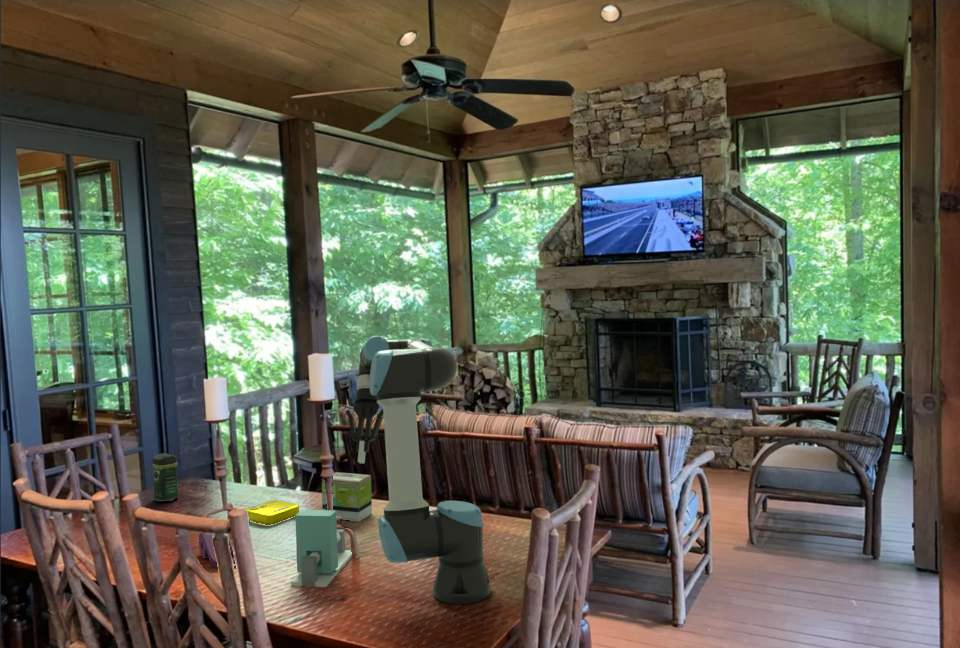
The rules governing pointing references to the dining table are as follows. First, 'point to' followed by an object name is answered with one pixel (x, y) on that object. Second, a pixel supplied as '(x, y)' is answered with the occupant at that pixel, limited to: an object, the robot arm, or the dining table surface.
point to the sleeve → (317, 538)
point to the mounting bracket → (209, 548)
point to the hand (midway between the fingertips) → (361, 462)
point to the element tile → (272, 512)
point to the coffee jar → (165, 476)
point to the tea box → (350, 496)
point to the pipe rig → (309, 566)
